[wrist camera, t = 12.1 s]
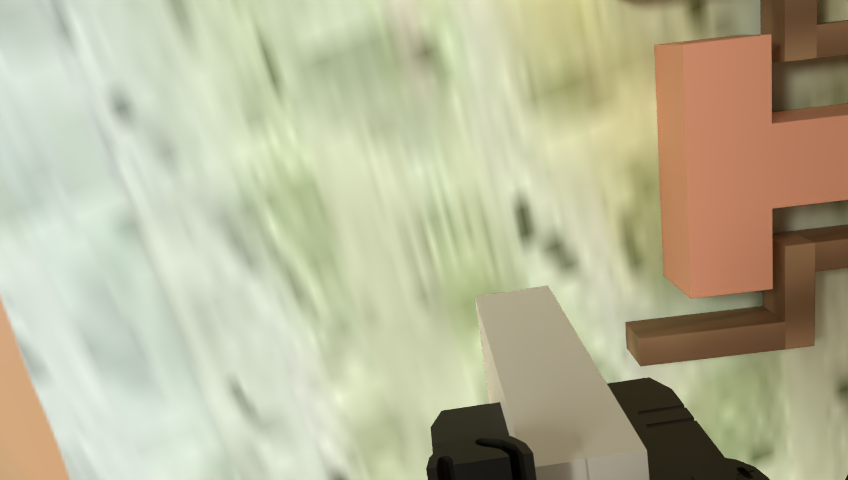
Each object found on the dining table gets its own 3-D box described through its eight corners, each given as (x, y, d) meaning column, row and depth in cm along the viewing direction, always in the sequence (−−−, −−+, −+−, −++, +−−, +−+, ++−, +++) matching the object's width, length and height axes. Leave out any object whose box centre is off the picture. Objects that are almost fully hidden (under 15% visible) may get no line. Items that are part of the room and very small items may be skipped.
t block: (654, 44, 39) (682, 44, 35) (873, 19, 39) (926, 16, 35) (663, 275, 42) (690, 298, 38) (868, 251, 42) (916, 272, 38)
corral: (606, -38, 38) (620, -43, 35) (944, -77, 38) (981, -85, 36) (626, 348, 43) (640, 366, 40) (927, 312, 43) (959, 328, 40)
